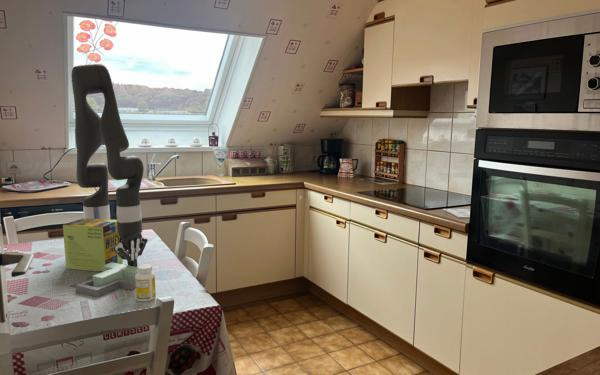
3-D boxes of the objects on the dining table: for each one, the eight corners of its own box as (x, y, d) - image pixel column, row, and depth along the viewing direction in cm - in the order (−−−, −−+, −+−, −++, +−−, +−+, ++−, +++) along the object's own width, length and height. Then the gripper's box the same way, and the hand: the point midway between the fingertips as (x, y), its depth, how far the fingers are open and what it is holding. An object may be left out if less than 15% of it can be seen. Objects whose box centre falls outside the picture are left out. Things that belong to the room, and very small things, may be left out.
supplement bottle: (143, 303, 136) (141, 270, 135) (132, 298, 140) (130, 266, 138) (159, 297, 140) (158, 266, 139) (149, 293, 144) (147, 262, 142)
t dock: (64, 288, 147) (64, 282, 147) (90, 278, 156) (90, 272, 155) (109, 299, 139) (109, 293, 139) (134, 288, 147) (134, 282, 147)
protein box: (106, 272, 162) (103, 226, 160) (65, 269, 165) (61, 224, 163) (123, 262, 172) (120, 219, 170) (84, 259, 175) (81, 217, 173)
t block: (112, 273, 160) (111, 262, 160) (144, 280, 154) (144, 268, 153) (82, 285, 150) (81, 273, 149) (115, 293, 143) (114, 280, 143)
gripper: (135, 213, 163) (139, 262, 166) (104, 222, 151) (108, 275, 154) (153, 215, 160) (155, 266, 163) (122, 224, 148) (126, 278, 151)
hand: (132, 270), depth 159 cm, fingers closed
